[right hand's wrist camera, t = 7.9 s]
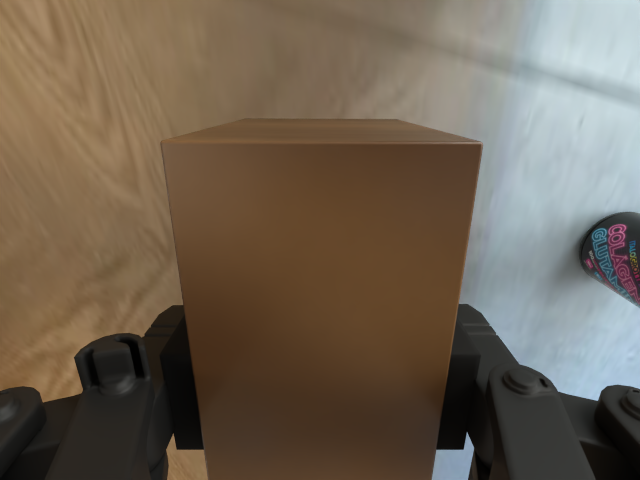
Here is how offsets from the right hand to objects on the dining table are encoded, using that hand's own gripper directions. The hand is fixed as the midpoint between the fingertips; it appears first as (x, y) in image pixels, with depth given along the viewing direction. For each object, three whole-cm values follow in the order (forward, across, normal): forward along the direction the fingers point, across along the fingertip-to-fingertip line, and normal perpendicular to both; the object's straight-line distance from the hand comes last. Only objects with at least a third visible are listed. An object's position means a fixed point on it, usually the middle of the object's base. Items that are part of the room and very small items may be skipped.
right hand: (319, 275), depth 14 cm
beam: (0, 0, -21) cm, 21 cm away
